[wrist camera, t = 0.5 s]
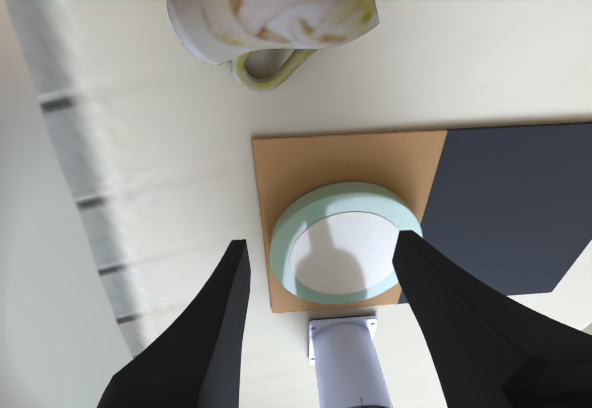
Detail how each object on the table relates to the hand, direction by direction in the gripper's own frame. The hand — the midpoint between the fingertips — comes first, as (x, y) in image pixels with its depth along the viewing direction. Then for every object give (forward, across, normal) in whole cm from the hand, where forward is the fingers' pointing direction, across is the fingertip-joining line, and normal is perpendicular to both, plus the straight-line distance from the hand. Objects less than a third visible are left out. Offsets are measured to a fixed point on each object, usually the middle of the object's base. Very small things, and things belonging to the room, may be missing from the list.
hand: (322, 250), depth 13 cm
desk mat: (+10, -12, +8) cm, 17 cm away
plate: (+9, -3, +8) cm, 13 cm away
